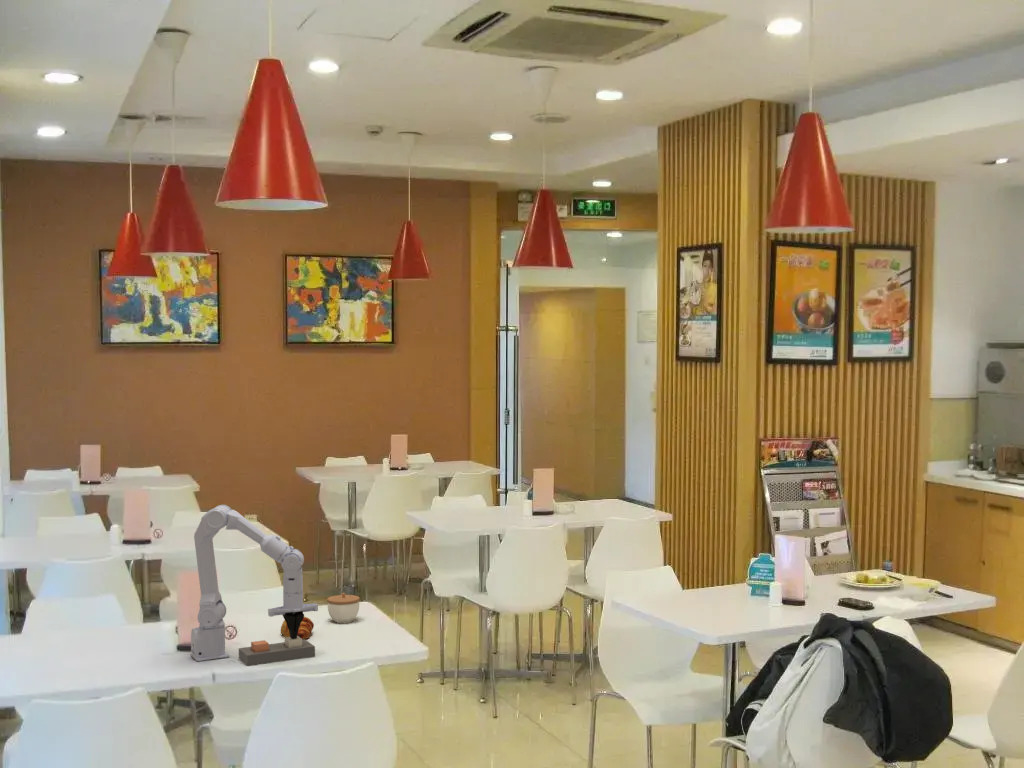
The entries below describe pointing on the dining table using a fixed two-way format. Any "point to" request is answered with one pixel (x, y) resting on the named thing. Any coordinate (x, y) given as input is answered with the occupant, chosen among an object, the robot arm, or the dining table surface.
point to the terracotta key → (259, 646)
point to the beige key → (293, 642)
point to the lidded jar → (343, 607)
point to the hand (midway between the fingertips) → (293, 637)
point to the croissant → (303, 630)
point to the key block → (276, 653)
